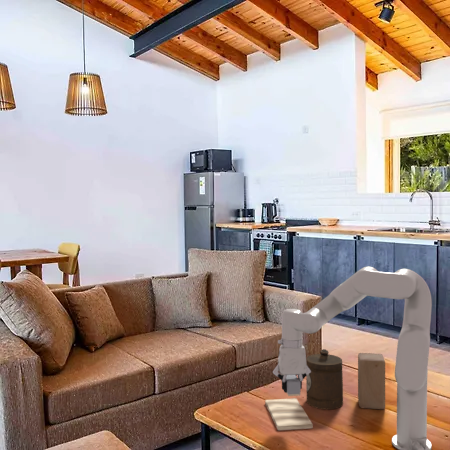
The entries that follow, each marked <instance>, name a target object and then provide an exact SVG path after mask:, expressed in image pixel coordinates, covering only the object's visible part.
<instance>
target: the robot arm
mask: <svg viewBox="0 0 450 450" xmlns="http://www.w3.org/2000/svg"><path fill="white" fill-rule="evenodd" d="M368 296H369V297H374V298H381V299H383V298H384V299H392V300H393V299H394V300H404V308H403V317H402V318H403V319H402V325H401V330H400V332H399V334H398V335H399V336H398V338H397V346H396V355H395V356H396V357H395V364H394V365H395V367H394V379H395V381H396V434H395V435H393V436H392V437H391V444H392V445H393V447H395V449H397V450H432V442H431V441H430V440H429V439H428V438H427V435H428V434H427V432H428V428H427V426H428V425H427V422H428V420H427V419H428V405H427V404H428V372H429V371H428V370H429V369H428V366H429V365H428V364H429V357H430V344H431V334H430V331H431V322H432V321H431V320H432V293H431V291H430V287H429V286H428V283H427V282H426V281H425V279H424V278H423V277H422V276H421V275H420V274H418V273H417V272H415V271H414V270H411V269H409V268H401V269H397V270H395V272H385V271H379V270H377V268H375V267H372V266H364V267H362V268H360V269H359V270H357V271H355V273H354V274H352V275H351V276H350V277H348V278H347V279H346V280H345V281H343V282H342V283H341V284H339V285H338V286H337V287H335V288H334V289H333V290H332V291H331V292H330V293H329V294H328V295H327V296H326V297H324V298H323V299H322V300H320V301H319V302H318V303H317V304H316V305H314V306H312V307H311V308H310V309H309V310H307V311H306V312H302V310H300V309H298V308H287V309H284V310H283V311H282V313H281V339H278V340H277V344H279V345H280V346H279V349H278V357H277V365H276V366H275V368H274V369H273V371H272V373H273V375H274V376H276V377H277V378H278V379H280V380H281V389H282V390H283V392H284V393H285V394H287V393H286V392H287V382H286V377H287V375H296V376H297V378H298V379H299V381H300V382H301V386H300V393H301V390H302V389H303V381H304V379H305V378H306V377H307V375H308V374H309V373H311V370H310V369H309V368H308V366H307V363H306V361H307V355H306V348H305V346H304V344H303V333H305V334H311V335H313V334H316V333H317V332H319V331H320V330H321V328H322V327H323V326H325V324H327V323H328V322H329V321H331V320H332V319H333V318H335V317H336V316H337V315H339V314H341V313H342V312H345V311H348V310H349V309H352V308H353V307H354V306H356V304H358V303H359V302H361V301H362V300H363V299H364V298H366V297H368Z"/></svg>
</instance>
